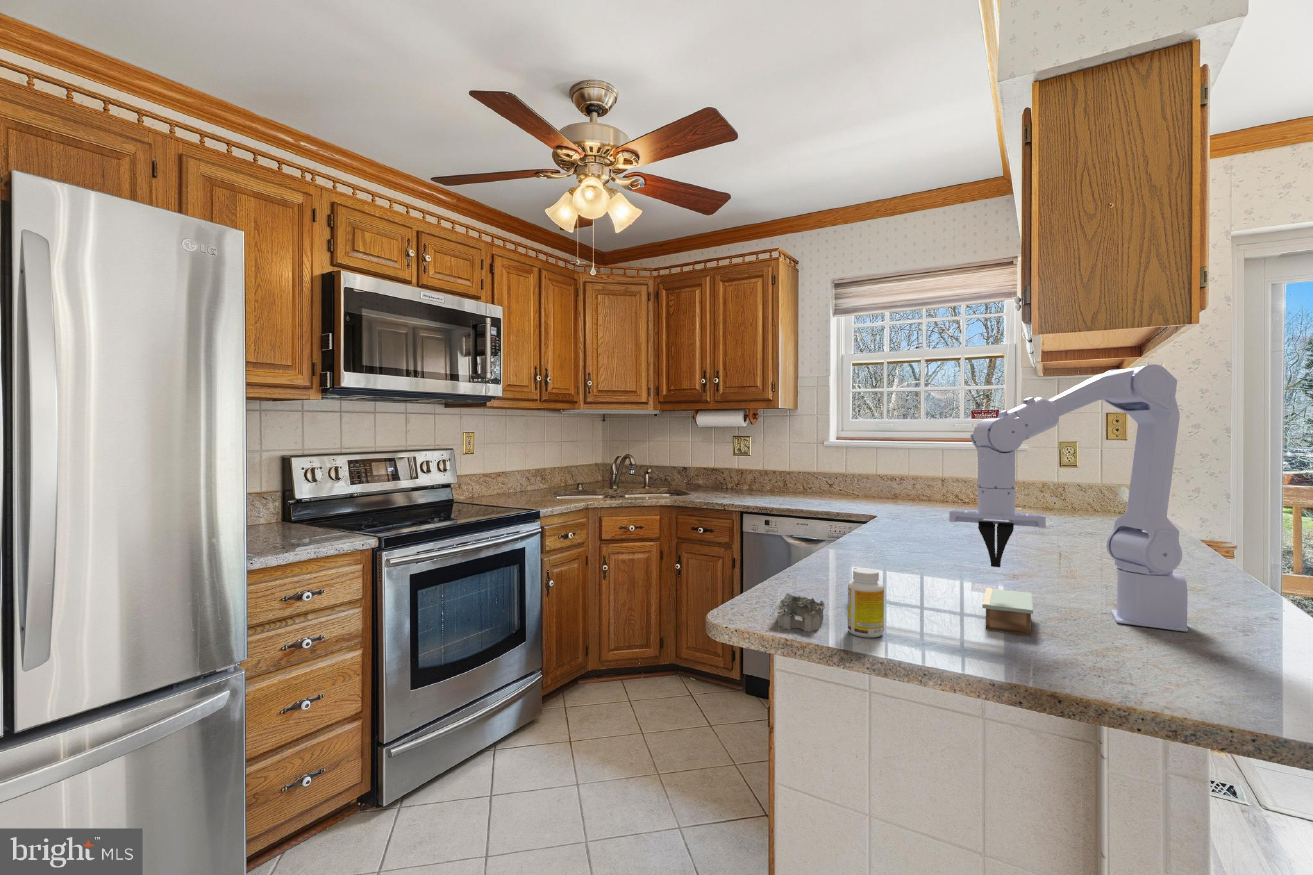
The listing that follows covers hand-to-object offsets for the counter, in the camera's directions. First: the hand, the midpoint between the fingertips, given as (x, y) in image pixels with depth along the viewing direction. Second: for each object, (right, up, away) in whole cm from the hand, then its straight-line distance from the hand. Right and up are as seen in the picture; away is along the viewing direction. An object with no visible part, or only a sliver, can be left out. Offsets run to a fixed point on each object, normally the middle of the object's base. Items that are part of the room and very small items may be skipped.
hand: (995, 566), depth 107 cm
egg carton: (-34, -10, 0) cm, 35 cm away
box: (+2, -10, -1) cm, 10 cm away
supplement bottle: (-25, -10, -6) cm, 27 cm away
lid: (+2, -6, -1) cm, 6 cm away
